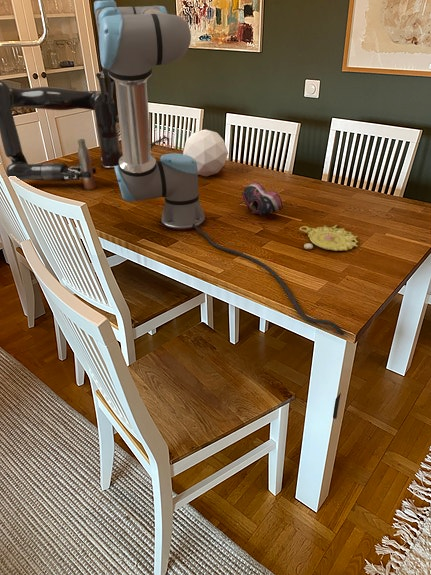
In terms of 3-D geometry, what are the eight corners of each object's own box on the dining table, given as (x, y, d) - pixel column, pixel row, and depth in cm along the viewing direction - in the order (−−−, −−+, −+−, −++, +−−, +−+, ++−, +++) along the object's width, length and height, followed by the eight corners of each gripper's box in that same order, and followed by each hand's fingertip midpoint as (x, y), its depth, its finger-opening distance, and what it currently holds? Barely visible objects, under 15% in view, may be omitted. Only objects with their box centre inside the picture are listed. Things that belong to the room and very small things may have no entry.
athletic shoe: (254, 181, 170) (227, 189, 167) (283, 176, 151) (253, 185, 147) (260, 210, 173) (234, 218, 170) (290, 209, 154) (261, 219, 150)
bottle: (98, 187, 189) (89, 139, 178) (89, 190, 186) (80, 141, 175) (90, 185, 192) (82, 137, 181) (82, 188, 188) (72, 140, 178)
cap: (126, 120, 170) (125, 114, 168) (126, 122, 166) (125, 116, 165) (115, 120, 169) (114, 115, 168) (115, 123, 166) (115, 117, 164)
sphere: (211, 192, 199) (209, 165, 180) (177, 170, 204) (171, 142, 185) (236, 162, 204) (236, 133, 185) (201, 142, 209) (198, 112, 190)
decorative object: (343, 255, 128) (285, 234, 139) (342, 262, 130) (284, 241, 140) (372, 230, 142) (317, 213, 152) (371, 237, 143) (316, 219, 153)
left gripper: (45, 168, 179) (85, 169, 177) (60, 158, 191) (97, 158, 189) (49, 186, 183) (89, 187, 181) (63, 175, 195) (100, 176, 193)
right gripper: (138, 51, 157) (145, 120, 170) (93, 51, 159) (103, 119, 172) (131, 53, 151) (139, 124, 163) (84, 54, 153) (96, 124, 166)
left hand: (93, 172), depth 185 cm, fingers closed on bottle, 4 cm apart
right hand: (121, 122), depth 168 cm, fingers closed on cap, 4 cm apart
